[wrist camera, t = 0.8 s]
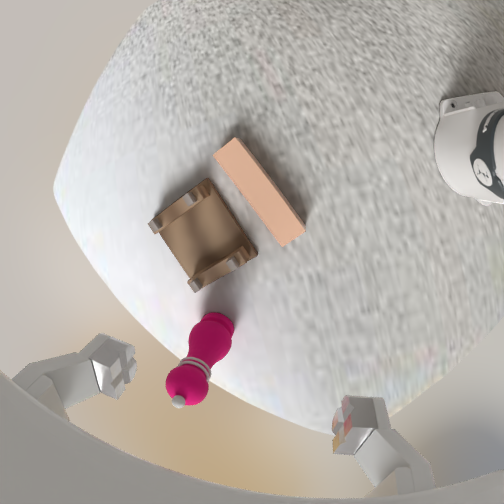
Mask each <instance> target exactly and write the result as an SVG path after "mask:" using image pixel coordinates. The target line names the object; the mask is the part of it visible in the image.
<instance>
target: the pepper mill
mask: <svg viewBox="0 0 504 504" xmlns="http://www.w3.org/2000/svg"><path fill="white" fill-rule="evenodd" d="M233 333H234V327H233V324H232V322H231V321H230V319H229V318H227V317H226V316H225V315H223V314H220V313H208V314H206V315H205V316H204V317H203V318H202V320H201V321H200V322H199V323H198V324H196V325H195V326H194V327H193V328H192V331H191V333H190V335H189V352H188V355H187V357H186V358H183V359H182V360H181V361H180V363H179V365H178V366H177V367H176V368H174V369H173V370H171V371H170V373H169V374H168V376H167V379H166V389H167V392H168V394H169V395H170V397H171V398H172V404H173V405H174V406H175V407H177V408H181V407H183V406H184V405H196V404H198V403H200V402H201V401H202V400H203V399H204V398H205V397H206V395H207V392H208V382H209V379H210V377H211V370H210V369H211V368H212V366H213V365H214V364H215V363H216V362H218V361H219V360H221V359H223V358H224V357H225V356H226V355H227V353H228V352H229V350H230V348H231V344H232V340H231V338H232V335H233Z"/></svg>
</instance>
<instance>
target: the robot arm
mask: <svg viewBox="0 0 504 504" xmlns="http://www.w3.org/2000/svg"><path fill="white" fill-rule="evenodd" d="M451 104H453V107H452V106H451ZM434 152H435V158H436V162H437V166H438V169H439V171H440V173H441V175H442V177H443V179H444V180H445V182H446V183H447V184H448V185H449V187H450V188H451V189H453V190H454V191H455V192H456V193H458V194H460V195H462V196H466V197H471V198H474V199H476V200H477V201H478V202H479V203H480V204H482V205H484V206H489V205H490V204H491V203H492V202H495V203H501V204H504V97H503V96H502V95H501V94H500V93H499V92H497V91H493V92H485V93H479V94H472V95H466V96H461V97H455V98H450V99H445V100H442V101H441V102H440V121H439V124H438V127H437V130H436V134H435V140H434ZM134 354H135V349H134V346H133V345H131V344H128V343H126V342H123V341H120V340H118V339H116V338H114V337H110V336H108V335H106V334H104V333H100V334H98V335H97V336H96V337H95V338H94V339H93V340H92V341H91V342H90V343H88V344H87V345H86V346H85V347H84V348H83V349H82V350H81V351H80V352H79V353H76V352H74V353H71V354H67V355H62V356H59V357H55V358H50V359H46V360H42V361H38V362H34V363H30V364H28V365H27V366H26V367H25V368H24V369H23V370H21V371H20V372H19V373H18V374H17V375H16V376H15V377H14V378H13V379H12V380H11V379H10V378H9V377H7V376H6V375H5V374H4V373H3V372H2V371H0V504H504V469H503V470H497V471H494V472H491V473H488V474H485V475H483V476H480V477H477V478H473V479H470V480H467V481H464V482H460V483H456V484H452V485H448V486H445V487H440V488H436V485H435V481H434V477H433V472H432V468H431V464H430V463H429V462H428V461H427V460H426V459H425V458H424V457H423V456H422V455H421V454H420V453H419V452H418V451H417V450H416V449H415V448H414V447H413V446H412V445H411V444H410V443H408V442H407V441H406V440H405V439H404V438H403V437H402V436H401V435H400V434H399V433H398V432H397V431H396V430H395V429H391V425H390V421H389V417H388V413H387V409H386V405H385V401H384V399H383V398H379V397H363V396H350V395H346V396H345V397H344V398H343V400H342V407H340V408H338V409H337V411H336V413H335V415H334V418H333V422H332V431H333V433H334V434H335V435H336V436H335V437H334V439H333V454H344V455H354V458H355V459H356V460H357V462H358V464H359V465H360V467H361V468H362V469H363V471H364V472H365V474H366V475H367V477H368V478H369V480H370V481H371V482H372V484H373V485H374V487H375V488H374V489H373V490H371V491H370V492H369V493H368V494H366V495H365V496H364V498H348V499H329V498H306V497H293V496H284V495H276V494H268V493H261V492H255V491H250V490H244V489H239V488H234V487H230V486H225V485H221V484H217V483H213V482H209V481H205V480H202V479H198V478H195V477H192V476H188V475H185V474H182V473H179V472H176V471H173V470H170V469H167V468H164V467H162V466H159V465H156V464H154V463H151V462H149V461H146V460H144V459H141V458H139V457H136V456H134V455H132V454H130V453H127V452H125V451H123V450H121V449H119V448H117V447H115V446H112V445H110V444H109V443H107V442H104V441H102V440H101V439H99V438H97V437H95V436H93V435H91V434H89V433H88V432H86V431H84V430H82V429H81V428H79V427H77V426H76V425H74V424H72V423H70V422H69V421H70V420H69V417H68V415H67V413H66V411H65V409H66V408H69V407H71V406H73V405H75V404H77V403H80V402H82V401H84V400H86V399H89V398H91V397H93V396H95V395H97V394H99V393H100V392H101V393H103V394H105V395H107V396H110V397H112V398H114V399H117V400H118V399H119V397H120V396H121V395H122V393H123V391H124V390H125V384H127V383H130V382H131V381H132V379H133V378H134V376H135V373H136V367H137V364H136V360H135V359H134V358H133V355H134Z"/></svg>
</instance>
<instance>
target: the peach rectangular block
mask: <svg viewBox="0 0 504 504" xmlns="http://www.w3.org/2000/svg"><path fill="white" fill-rule="evenodd" d="M213 156H214V158H215V159H216V160H217V162H218V163H219V164H220V165H221V167H222V168H223V169H224V171H225V172H226V173H227V175H228V176H229V177H230V178H231V180H232V181H233V182H234V184H235V185H236V186H237V188H238V189H239V190H240V191H241V193H242V194H243V195H244V197H245V198H246V199H247V201H248V202H249V203H250V205H251V206H252V207H253V209H254V210H255V211H256V213H257V214H258V215H259V217H260V218H261V219H262V221H263V222H264V223H265V225H266V226H267V227H268V229H269V230H270V231H271V233H272V234H273V235H274V237H275V238H276V239H277V241H278V242H279V244H280V245H281V246H282V247H283V246H285V245H286V244H287V243H289V242H290V241H292V240H293V239H295V238H296V237H298V236H299V235H301V234H302V233H304V232H305V231H306V227H305V224H304V223H303V221H302V220H301V218H300V217H299V216H298V214H297V213H296V211H295V210H294V209H293V207H292V206H291V205H290V203H289V202H288V200H287V199H286V198H285V196H284V195H283V194H282V192H281V191H280V190H279V188H278V187H277V186H276V184H275V183H274V182H273V180H272V179H271V178H270V176H269V175H268V174H267V172H266V171H265V170H264V168H263V167H262V166H261V164H260V163H259V162H258V161H257V159H256V158H255V157H254V155H253V154H252V153H251V152H250V150H249V149H248V148H247V146H246V145H245V144H244V143H243V141H242V140H241V139H239V138H236V137H235V138H233V139H232V140H231V141H230V142H228V143H227V144H226V145H225V146H223V147H222V148H221V149H220V150H218V151H217V152H216V153H215V154H214V155H213Z"/></svg>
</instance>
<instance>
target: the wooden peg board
mask: <svg viewBox="0 0 504 504" xmlns="http://www.w3.org/2000/svg"><path fill="white" fill-rule="evenodd" d="M148 225H149V226H150V228H151V230H152V231H153V233H154V234H156V233H158V232H159V233H160V235H161V236H162V238H163V240H164V241H165V243H166V244H167V246H168V247H169V249H170V250H171V252H172V253H173V254H174V256H175V257H176V259H177V260H178V262H179V263H180V265H181V266H182V268H183V269H184V271H185V272H186V273H187V275H188V276H189V278H190V279H189V280H188V282H187V283H188V284H189V285H190V287H191V288H192V290H193V291H194V292H195V293H196V292H197V291H199V290H200V289H201V288H203V287H205V286H206V285H208V284H210V283H212V282H214V281H215V280H217V279H219V278H221V277H222V276H224V275H226V274H228V273H229V272H233V271H235V270H236V269H238V267H240V266H242V265H244V264H245V263H247V261H249V260H251V259H252V258H254V257H256V256H257V255H258V253H257V251H256V250H255V248H254V247H253V245H252V244H251V242H250V241H249V239H248V238H247V236H246V234H245V233H244V231H243V230H242V228H241V227H240V225H239V224H238V222H237V221H236V219H235V218H234V216H233V215H232V213H231V212H230V210H229V209H228V207H227V205H226V204H225V202H224V201H223V199H222V198H221V196H220V195H219V193H218V192H217V190H216V189H215V187H214V186H213V184H212V183H211V181H210V180H209V178H206V179H205V180H204V181H202V182H201V183H199V184H198V185H197V186H195V187H194V188H193V189H191V190H190V191H188V192H187V193H186V194H184V195H183V196H182V197H180V198H179V199H178V200H176V201H175V202H174V203H173V204H171V205H170V206H169V207H167V208H166V209H165V210H164V211H162V212H161V213H160V214H158V215H157V216H156V217H155V218H153V219H152V220H151V221H150V222H149V223H148Z"/></svg>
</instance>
